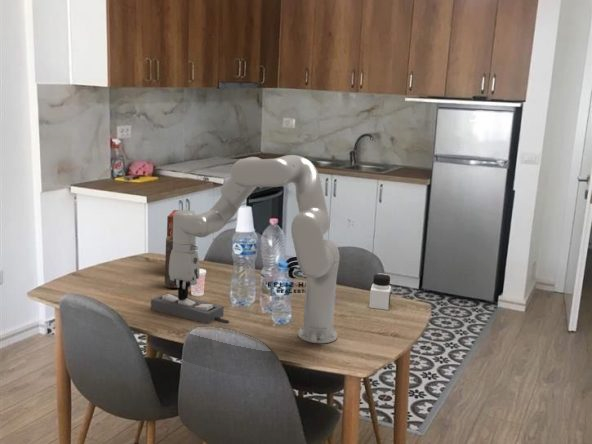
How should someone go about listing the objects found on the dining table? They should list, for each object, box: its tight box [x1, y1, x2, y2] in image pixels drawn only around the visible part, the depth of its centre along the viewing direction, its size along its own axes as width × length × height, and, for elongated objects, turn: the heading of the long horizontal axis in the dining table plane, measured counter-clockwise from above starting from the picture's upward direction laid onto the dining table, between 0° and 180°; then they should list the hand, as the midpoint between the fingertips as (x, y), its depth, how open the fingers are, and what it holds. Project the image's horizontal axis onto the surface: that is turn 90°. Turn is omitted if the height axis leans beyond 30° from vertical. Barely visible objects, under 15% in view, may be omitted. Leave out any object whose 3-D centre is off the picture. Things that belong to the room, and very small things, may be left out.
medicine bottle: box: [368, 273, 392, 311], centre depth 238 cm, size 7×7×12 cm
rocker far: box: [162, 293, 180, 302], centre depth 224 cm, size 5×4×1 cm
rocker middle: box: [178, 298, 196, 306], centre depth 221 cm, size 5×4×1 cm
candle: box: [164, 236, 178, 289], centre depth 246 cm, size 8×7×20 cm
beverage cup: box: [190, 268, 207, 297], centre depth 240 cm, size 6×6×14 cm
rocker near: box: [195, 303, 214, 311], centre depth 218 cm, size 5×4×1 cm
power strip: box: [150, 292, 230, 325], centre depth 221 cm, size 29×9×4 cm, turn 62°
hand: (182, 298), depth 222 cm, fingers closed
